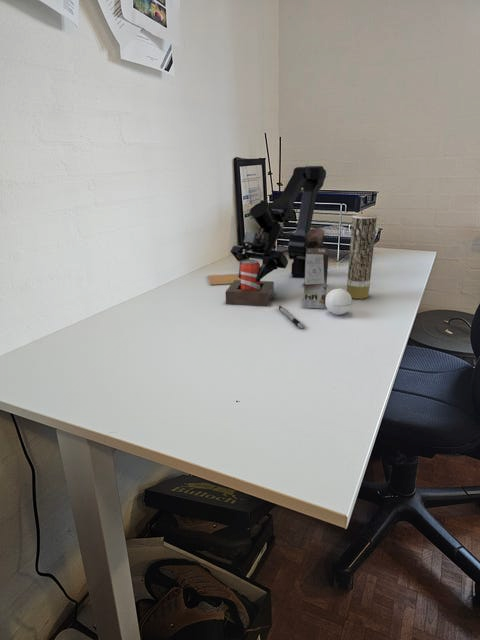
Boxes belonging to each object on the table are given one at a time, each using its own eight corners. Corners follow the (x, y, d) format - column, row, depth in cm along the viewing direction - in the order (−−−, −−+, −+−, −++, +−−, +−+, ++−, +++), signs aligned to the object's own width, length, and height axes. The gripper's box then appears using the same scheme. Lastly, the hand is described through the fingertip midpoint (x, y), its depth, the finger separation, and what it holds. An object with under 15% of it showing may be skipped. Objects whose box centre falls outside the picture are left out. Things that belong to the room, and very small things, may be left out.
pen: (282, 309, 117) (282, 305, 116) (305, 330, 102) (305, 325, 101) (278, 309, 116) (278, 305, 116) (300, 330, 102) (300, 326, 101)
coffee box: (325, 309, 116) (328, 254, 110) (302, 308, 117) (305, 253, 111) (325, 299, 124) (328, 247, 119) (304, 298, 126) (306, 247, 120)
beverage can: (264, 297, 127) (264, 260, 123) (253, 302, 123) (252, 264, 118) (248, 294, 131) (248, 258, 126) (237, 299, 126) (236, 261, 122)
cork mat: (239, 274, 154) (239, 273, 154) (244, 283, 143) (244, 282, 143) (208, 276, 152) (208, 275, 152) (210, 285, 141) (210, 284, 141)
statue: (325, 284, 139) (329, 226, 132) (320, 290, 133) (324, 229, 126) (306, 282, 142) (309, 225, 135) (300, 288, 136) (303, 228, 129)
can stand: (273, 293, 131) (273, 281, 130) (268, 306, 119) (268, 293, 118) (235, 291, 134) (234, 279, 132) (225, 304, 122) (225, 291, 121)
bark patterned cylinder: (368, 294, 128) (377, 214, 119) (367, 300, 122) (376, 217, 113) (347, 292, 131) (353, 213, 121) (345, 298, 125) (351, 216, 115)
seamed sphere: (324, 318, 109) (326, 292, 107) (323, 309, 116) (325, 284, 114) (362, 319, 108) (365, 293, 105) (359, 310, 115) (361, 285, 112)
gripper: (233, 219, 126) (211, 260, 122) (284, 223, 116) (262, 269, 112) (248, 240, 135) (228, 280, 131) (296, 246, 125) (277, 289, 120)
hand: (247, 279), depth 123 cm, fingers closed on beverage can, 6 cm apart
